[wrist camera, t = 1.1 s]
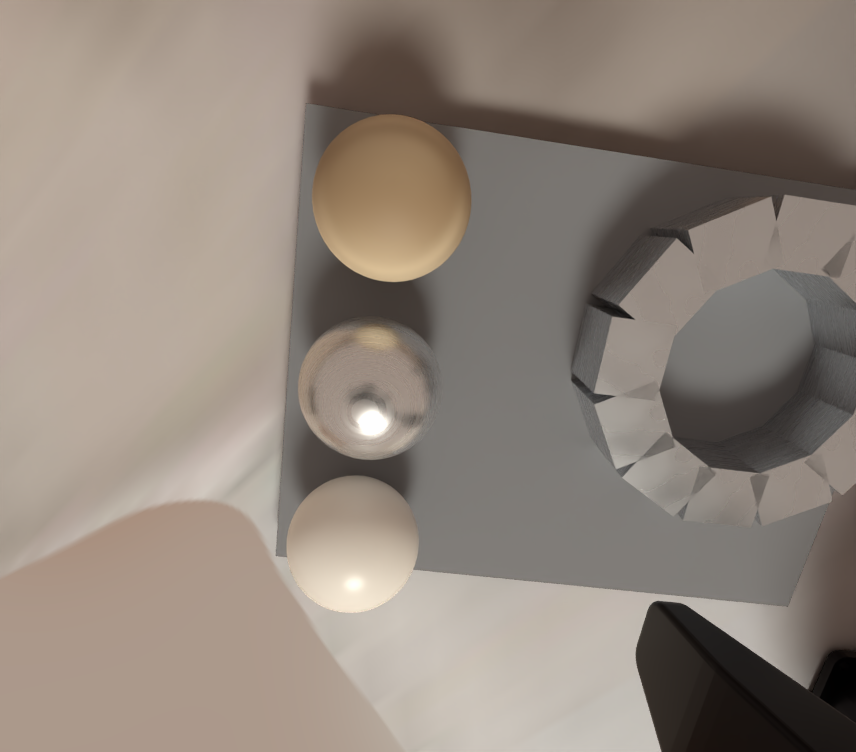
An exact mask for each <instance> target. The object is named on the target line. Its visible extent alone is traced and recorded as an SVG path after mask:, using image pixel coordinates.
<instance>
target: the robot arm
mask: <svg viewBox="0 0 856 752" xmlns="http://www.w3.org/2000/svg"><path fill="white" fill-rule="evenodd" d="M636 664H637V668H638V672H639V675H640V679H641V682H642V686H643V689H644V693H645V696H646V700H647V703H648V707H649V710H650V713H651V717H652V720H653V724H654V727H655V731H656V734H657V738H658V741H659V745H660V748H661V752H856V651H846V650H837V651H834V652H832V653H831V654H830V655H829V656H828V658H827V660H826V662H825V664H824V667H823V669H822V671H821V673H820V676H819V678H818V680H817V683H816V685H815V687H814V689H813V692H810V691H809V690H807V689H806V688H804V687H803V686H801V685H800V684H799V683H797V682H796V681H794V680H793V679H791V678H790V677H789V676H787V675H786V674H784V673H783V672H781V671H780V670H778V669H777V668H776V667H774V666H773V665H771V664H770V663H768V662H767V661H765V660H764V659H763V658H761V657H760V656H758V655H757V654H755V653H754V652H752V651H751V650H750V649H748V648H747V647H745V646H744V645H742V644H741V643H740V642H738V641H737V640H735V639H734V638H732V637H731V636H729V635H728V634H727V633H725V632H724V631H722V630H721V629H719V628H718V627H716V626H715V625H714V624H712V623H711V622H709V621H708V620H706V619H705V618H704V617H702V616H701V615H699V614H698V613H696V612H695V611H693V610H692V609H691V608H689V607H688V606H686V605H684V604H681V603H675V602H664V601H656V602H653V603H652V604H651V605H650V607H649V609H648V611H647V615H646V618H645V621H644V624H643V627H642V631H641V634H640V637H639V640H638V643H637V647H636Z"/></svg>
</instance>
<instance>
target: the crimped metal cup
mask: <svg viewBox="0 0 856 752" xmlns="http://www.w3.org/2000/svg"><path fill="white" fill-rule="evenodd" d="M650 230H651V234H652V236H643V235H640V236H639V237H638V238H637V240H636V241H635V242H634V243H633V244H632V246H631V247H630V248H629V249H628V250H627V251H626V253H625V254H624V255H623V256H622V257H621V258H620V260H619V261H618V262H617V263H616V264H615V265H614V267H613V268H612V269H611V270H610V271H609V272H608V274H607V275H606V276H605V277H604V278H603V279H602V281H601V282H600V283H599V284H598V285H597V286H596V288H595V289H594V290H593V291H592V292H591V294H592V295H593V296H595V297H596V298H597V299H598V300H599V301H601V302H602V303H603V304H604V305H605V306H601V305H594V304H585V308H584V313H583V317H582V321H581V326H580V330H579V335H578V339H577V344H576V348H575V353H574V357H573V362H572V366H571V372H572V373H573V374H575V375H576V376H577V377H578V378H577V379H574V380H571V382H572V385H573V388H574V391H575V394H576V397H577V400H578V403H579V406H580V409H581V411H582V414H583V417H584V420H585V423H586V426H587V429H588V432H589V435H590V438H591V439H592V441H593V442H594V443H595V444H596V446H597V448H598V449H599V450H600V451H601V452H602V454H603V455H604V456H605V457H606V459H607V460H608V461H609V462H610V464H611V465H612V466H613V467H614V469H615V470H616V471H617V472H618V474H619V475H620V476H621V477H622V478H623V479H624V480H626V481H627V482H628V483H630V484H631V485H632V486H634V487H635V488H636V489H637V490H639V491H640V492H641V493H643V494H644V495H645V496H647V497H648V498H649V499H651V500H652V501H653V502H655V503H656V504H657V505H659V506H660V507H661V508H663V509H664V510H665V511H666V512H668V513H669V514H670V515H672V516H674V515H675V514H676V513H677V514H678V515H679V517H680V518H681V519H682V520H684V521H693V522H702V523H712V524H721V525H730V526H739V527H748V528H751V526H752V523H753V521H754V520H755V521H756V522H758V523H759V524H760V525H761V526H765V525H767V524H770V523H773V522H776V521H779V520H782V519H784V518H787V517H790V516H793V515H796V514H799V513H801V512H804V511H807V510H810V509H813V508H815V507H818V506H821V505H824V504H827V503H830V502H832V497H831V492H830V488H832V489H833V490H835V491H837V492H838V493H840V494H841V495H844V494H845V493H846V492H847V491H848V490H849V489H850V488H851V487H852V486H853V485H854V484H856V206H854V205H848V204H841V203H835V202H829V201H822V200H816V199H809V198H803V197H796V196H790V195H771V196H754V197H737V198H732V199H720V200H718V201H716V202H713V203H711V204H708V205H706V206H703V207H701V208H698V209H696V210H693V211H691V212H689V213H686V214H684V215H681V216H679V217H676V218H674V219H671V220H669V221H666V222H664V223H661V224H659V225H657V226H654V227H652V228H650ZM771 269H774V270H775V271H776V272H777V273H778V274H779V275H780V276H781V277H782V278H783V279H784V280H785V281H786V282H788V283H789V284H790V285H791V286H792V287H793V288H794V289H795V290H796V291H797V292H798V293H799V294H800V295H801V296H802V297H803V298H804V299H805V300H806V304H807V309H808V315H809V320H810V325H811V330H812V335H813V341H814V347H813V350H812V352H811V355H810V358H809V361H808V364H807V366H806V369H805V372H804V375H803V378H802V381H801V383H800V386H799V389H798V391H797V392H796V393H795V394H794V395H793V396H792V397H791V398H790V399H789V400H788V401H787V402H786V403H785V404H784V405H783V406H782V407H781V408H780V409H779V410H778V411H777V412H776V413H775V414H774V415H773V416H772V417H771V418H770V419H769V420H768V421H767V422H766V423H765V424H764V425H763V426H760V427H757V428H754V429H752V430H749V431H746V432H744V433H741V434H738V435H736V436H733V437H730V438H727V439H725V440H722V441H719V442H712V441H704V440H695V439H687V438H679V437H673V436H672V433H671V429H670V426H669V422H668V419H667V416H666V412H665V409H664V405H663V402H662V398H661V395H660V391H659V390H660V386H661V382H662V379H663V375H664V372H665V368H666V364H667V361H668V357H669V354H670V350H671V346H672V343H673V339H674V336H675V335H676V334H677V333H678V332H679V331H680V330H681V329H682V328H683V326H684V325H685V324H686V323H687V322H688V321H689V320H690V319H691V318H692V317H693V316H694V314H695V313H696V312H697V311H698V310H699V309H700V308H701V307H702V306H703V305H704V304H705V302H706V301H707V300H708V299H709V298H710V297H711V296H712V295H713V294H714V293H715V292H716V291H718V290H720V289H723V288H725V287H728V286H730V285H733V284H735V283H738V282H740V281H743V280H746V279H748V278H751V277H753V276H756V275H758V274H761V273H763V272H766V271H768V270H771Z"/></svg>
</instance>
